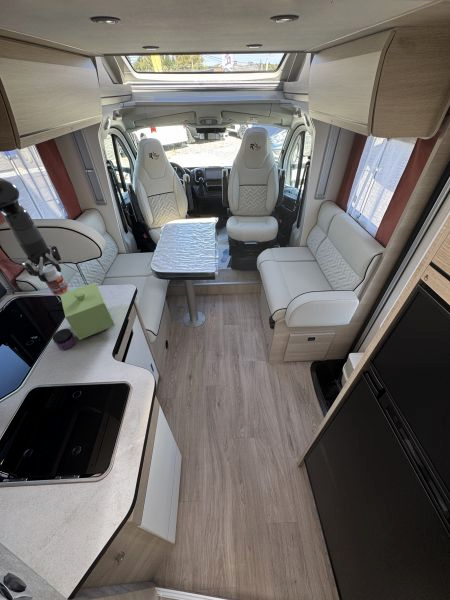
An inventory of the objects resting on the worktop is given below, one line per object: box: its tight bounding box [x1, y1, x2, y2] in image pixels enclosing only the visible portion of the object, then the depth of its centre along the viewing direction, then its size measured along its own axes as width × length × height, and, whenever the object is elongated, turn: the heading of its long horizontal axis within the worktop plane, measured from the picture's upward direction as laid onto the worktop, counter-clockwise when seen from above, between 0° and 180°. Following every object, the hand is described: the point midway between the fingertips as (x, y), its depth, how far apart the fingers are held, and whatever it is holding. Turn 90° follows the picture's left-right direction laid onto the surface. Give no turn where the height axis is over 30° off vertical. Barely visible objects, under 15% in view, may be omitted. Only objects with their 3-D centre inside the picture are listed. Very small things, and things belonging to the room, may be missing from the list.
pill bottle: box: [42, 264, 69, 296], centre depth 102 cm, size 6×6×11 cm
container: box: [59, 282, 116, 341], centre depth 121 cm, size 19×16×20 cm
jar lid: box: [52, 328, 73, 344], centre depth 115 cm, size 8×8×1 cm
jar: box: [53, 332, 78, 351], centre depth 117 cm, size 8×8×6 cm
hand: (52, 276), depth 101 cm, fingers closed on pill bottle, 6 cm apart
